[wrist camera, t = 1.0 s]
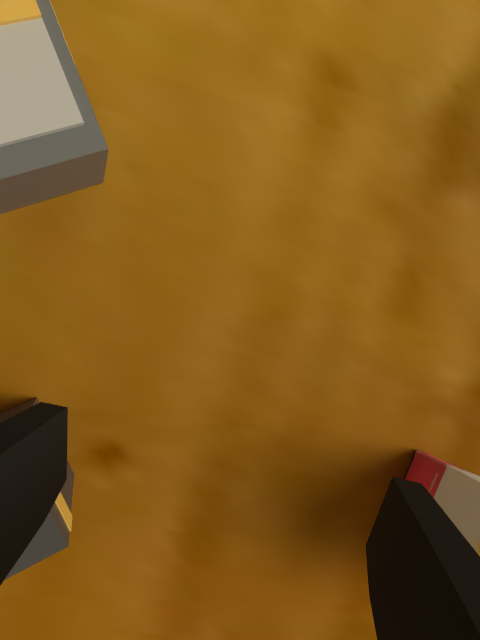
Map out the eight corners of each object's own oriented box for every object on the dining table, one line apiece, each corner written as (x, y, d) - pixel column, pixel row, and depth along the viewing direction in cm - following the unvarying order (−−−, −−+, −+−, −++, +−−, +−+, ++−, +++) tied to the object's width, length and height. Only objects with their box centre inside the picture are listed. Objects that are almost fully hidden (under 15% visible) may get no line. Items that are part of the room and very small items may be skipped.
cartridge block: (-7, 513, 22) (-45, 606, 15) (-51, 433, 21) (-110, 498, 15) (75, 474, 23) (70, 546, 17) (37, 395, 22) (16, 441, 16)
